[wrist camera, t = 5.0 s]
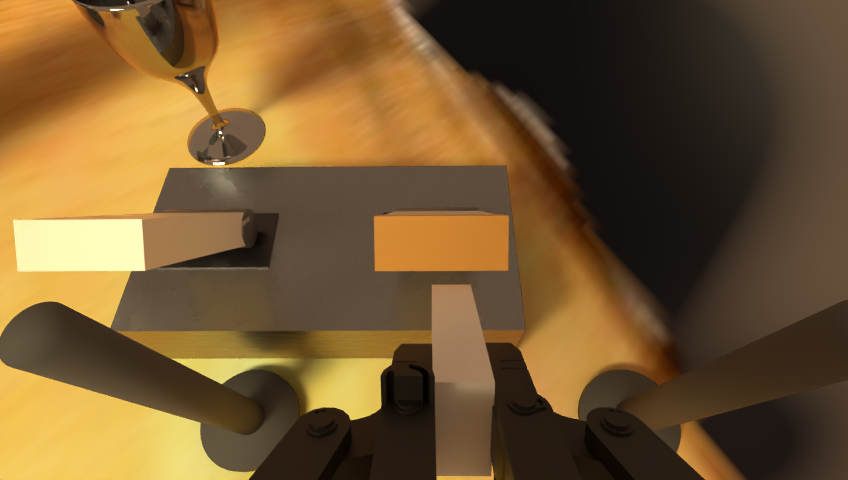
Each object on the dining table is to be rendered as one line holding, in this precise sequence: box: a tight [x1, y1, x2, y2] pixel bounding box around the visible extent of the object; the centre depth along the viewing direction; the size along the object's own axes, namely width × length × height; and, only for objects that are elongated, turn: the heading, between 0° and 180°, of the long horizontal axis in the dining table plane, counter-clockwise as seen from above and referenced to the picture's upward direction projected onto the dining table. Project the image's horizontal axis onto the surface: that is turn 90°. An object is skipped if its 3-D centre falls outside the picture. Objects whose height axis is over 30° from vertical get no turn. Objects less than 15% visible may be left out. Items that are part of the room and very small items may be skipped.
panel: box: [110, 166, 526, 358], centre depth 31 cm, size 12×24×6 cm, turn 90°
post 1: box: [0, 302, 300, 472], centre depth 21 cm, size 6×6×18 cm
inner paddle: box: [13, 209, 257, 271], centre depth 22 cm, size 2×5×11 cm
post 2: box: [578, 300, 848, 452], centre depth 20 cm, size 6×6×18 cm
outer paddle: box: [374, 207, 509, 271], centre depth 22 cm, size 2×5×11 cm
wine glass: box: [72, 0, 265, 166], centre depth 34 cm, size 8×8×15 cm
